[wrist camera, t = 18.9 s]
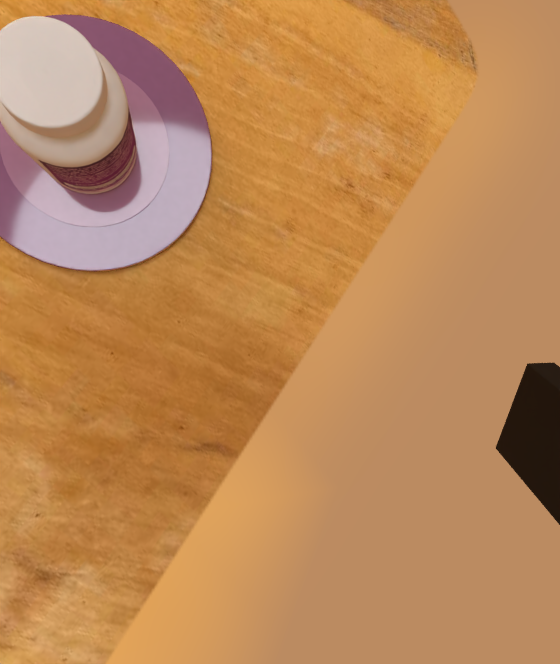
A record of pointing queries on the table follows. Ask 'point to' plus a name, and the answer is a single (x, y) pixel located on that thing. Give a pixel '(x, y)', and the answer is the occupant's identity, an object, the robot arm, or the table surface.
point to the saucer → (136, 190)
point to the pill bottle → (65, 105)
